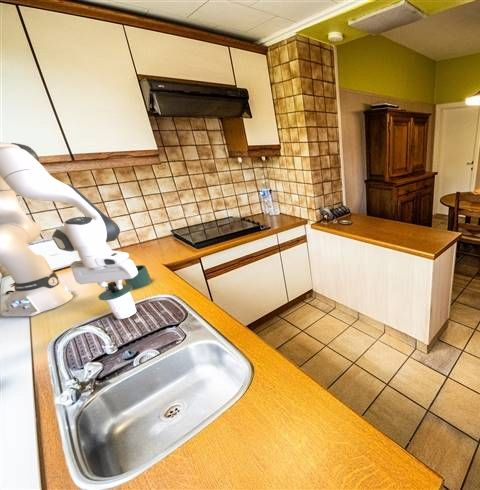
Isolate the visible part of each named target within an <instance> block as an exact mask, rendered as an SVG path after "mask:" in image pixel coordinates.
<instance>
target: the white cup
mask: <svg viewBox="0 0 480 490" xmlns="http://www.w3.org/2000/svg"><path fill="white" fill-rule="evenodd" d="M104 302H105V304H106V305H107V307H108V308H109V310H110V312H111V313H112V314H113V315H114V317H115V319H117V320H125V319H127V318H129V317H132V316H133V315H135V314H136V313H137V307H136V304H135V302H134V299H133V296H132V294H131V291H130V292H128V293H127V294H125V295H123V296H120V297H117V298H114V299H110V300H104Z"/></svg>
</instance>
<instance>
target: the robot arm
mask: <svg viewBox="0 0 480 490" xmlns="http://www.w3.org/2000/svg"><path fill="white" fill-rule="evenodd" d="M17 195H18V196H20V197H23V198H25V199H28V200H32V201H39V202H40V201H41V202H54V203H55V202H57V203H64V204H67V205H71V206H73V207H75V208H76V209H77V210H78V211H79V212H80V213H81V214H82V215H83V216H77V217H76V216H75V217H72V218H68V219H67V220H65V221H64V222H63V226H61V227H59V228H56V229H55V230H54V231H53V234H52V236H51V237H52V240H53V241H54V243H55V246H57V248H58V249H59V250H61V251H65V252H71V253H72V252H77V253H78V257H79V259H80V260H75V261H73V262H72V263H71V264H70V268H71V271H72V275H73V278H74V279H75V282H76V283H77V284H79V285H87V284H88V285H89V284H96V283H97V285H98V286H100V287H101V288H103V289H104V291H110V288H109V286H108V285H107V284H108V283H107V282H115V283H116V284H117V285H116V286H114V287H115V288H116V290H120V289H122V288H123V286H122V285H123V280H124V279H132V278H134V277H135V276H136V275H137V274H138V270H137V268H136V266H137V265H136V264H135V262H134V261H133V260H132V259H131V258H130V254H129V253H128V252H126V251H125V252H124V251H120V250H114V249H112V248H111V246H110V245H109V244H108V243H109V242H110V243H111V242H113V241H116V240H117V239H118V237H119V235H120V234H121V229H120V226H119V225H118V223H116V221H114V220H113V219H112V218H110V217H109V216H107V215H106V214H105V213H104V212H103V211H101V210H100V209H99V208H98V207H97V206H96V205H95V204H94V203H93V202H91V200H90V199H88V198H87V197H86V196H85V195H84V194H83V193H81V191H79V190H78V189H77V188H76V187H74V186H73V185H72V184H68V183H64V182H62V181H60V180H59V179H56V177H53V175H51V174H50V173H49V172H48V170H47V169H46V168H45V167H44V165H42V164H41V162H40V158H39V156H38V154H37V153H36V151H35V150H34V149H33V148H31V147H30V146H28V145H26V144H22V143H16V142H11V143H9V142H0V265H1V266H2V268H4V269H5V271H6V272H7V273H8V275H9V276H10V277H11V279H12V280H13V283H11V284H9V285H8V286H9V287H10V288H13V287H14V290H7V291H6V292H5V295H9V294H10V293H11V294H10V295H9V296H8V297H7V298H6V300H5V301H4V305H5V307H6V309H5V310H4V311H3V312H2V313H1V317H2V318H3V317H6V318H7V317H10V318H12V317H33V316H37V315H38V314H42V313H44V312H47V311H50V310H53V309H56V308H58V307H60V306H63V305H65V304H67V303H68V302H69V301H71V300H72V299H73V298H74V295H73V294H72V292H71V290H69V289H68V287H67V286H65V285H64V283H63V282H62V281H61V280H60V279H59V276H58V275H57V273H56V272H55V271H54V270H52V268H51V266H50V264H49V263H48V261H47V260H46V258H45V256H43V255H41V254H37V253H35V252H34V251H33V250H31V248H30V247H29V246H28V245H29V244H31V243H32V242H34V241H36V240H37V239H38V238H39V236H40V235H41V233H42V228H41V225H40V224H39V223H37V222H36V221H34V220H31V219H30V217H28V215H27V214H26V213H25V212H24V210H23V208H22V207H21V204H20V202H19V200H18V197H17ZM124 281H125V280H124Z"/></svg>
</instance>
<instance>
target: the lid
mask: <svg viewBox="0 0 480 490" xmlns="http://www.w3.org/2000/svg"><path fill="white" fill-rule="evenodd" d="M107 285H108V286H109V288H110V291H105V290H104V291H103V292H101V293H100V294H99V295H98V297H97V298H98V300H100V301H105V300H110V299H114V298H117V297H120V296H123V295H125V294H127V293H128V292H130V293H131V291H132V290H133V289H132V288H133V287H132V286H131V285H126V284H122V286H123V288H122V289H120V290H116V288H115V287H114V286H116V285H117V283H115V281H109V282H108V283H107Z"/></svg>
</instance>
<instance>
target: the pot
mask: <svg viewBox="0 0 480 490" xmlns="http://www.w3.org/2000/svg"><path fill="white" fill-rule="evenodd" d="M135 266H136V268H137V270H138V274H137V275H136V276H135V277H134V278H132V279H124V282H125V285H131V286H132V287H133V288H132V290H136V289H137V290H138V289H141V288H144V287H146V286H148V285H149V284H151V283H152V278H151V275H150V273H149V271H148V269H147V267H146V265H143V264H141V265H139V264H138V265H135Z"/></svg>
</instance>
